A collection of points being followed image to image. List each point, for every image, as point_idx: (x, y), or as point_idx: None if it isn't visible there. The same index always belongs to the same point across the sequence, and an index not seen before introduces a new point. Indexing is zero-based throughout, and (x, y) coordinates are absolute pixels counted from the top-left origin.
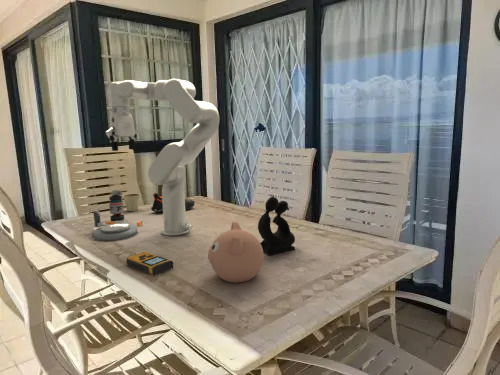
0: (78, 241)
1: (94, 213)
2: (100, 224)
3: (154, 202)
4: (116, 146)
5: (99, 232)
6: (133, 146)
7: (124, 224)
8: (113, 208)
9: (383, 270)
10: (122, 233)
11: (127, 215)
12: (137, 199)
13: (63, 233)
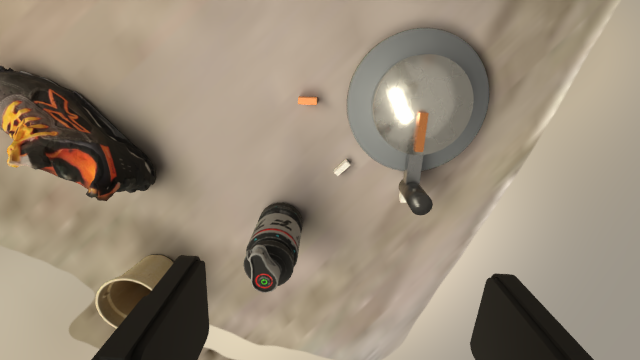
0: (504, 155)
1: (431, 203)
2: (419, 169)
3: (129, 180)
4: (545, 320)
5: None
6: (186, 282)
7: (418, 70)
8: (297, 236)
9: None
10: (450, 45)
11: (220, 236)
12: (131, 273)
13: (447, 255)
